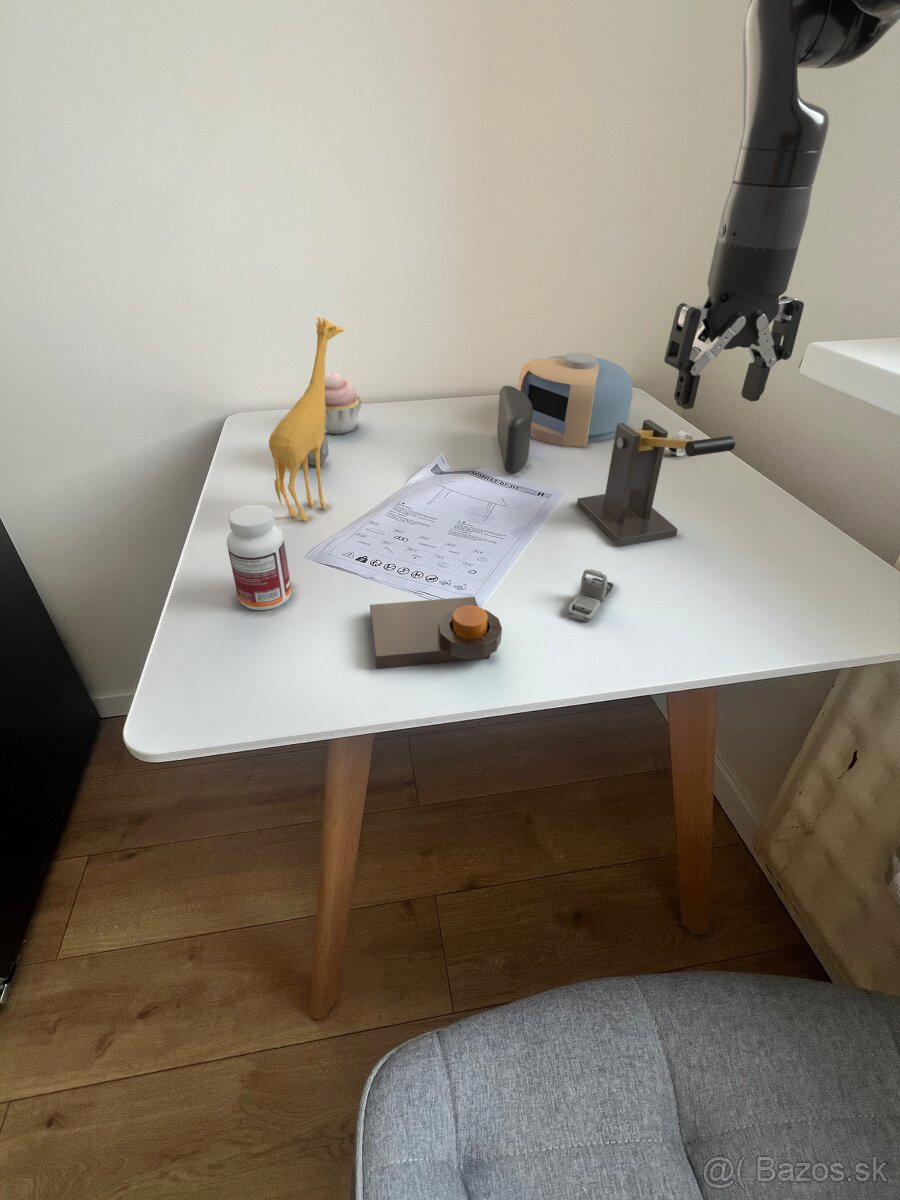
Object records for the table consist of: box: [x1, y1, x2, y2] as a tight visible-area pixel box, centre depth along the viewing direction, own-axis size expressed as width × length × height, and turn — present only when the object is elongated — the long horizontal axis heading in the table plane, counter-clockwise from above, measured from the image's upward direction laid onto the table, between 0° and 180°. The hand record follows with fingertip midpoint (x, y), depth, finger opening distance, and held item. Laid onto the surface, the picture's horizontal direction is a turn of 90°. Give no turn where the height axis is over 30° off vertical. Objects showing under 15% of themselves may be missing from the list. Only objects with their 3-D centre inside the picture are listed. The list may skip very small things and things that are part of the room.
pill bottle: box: [226, 504, 292, 611], centre depth 79 cm, size 6×6×11 cm
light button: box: [453, 605, 488, 639], centre depth 72 cm, size 4×4×2 cm
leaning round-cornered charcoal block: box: [496, 385, 533, 475], centre depth 112 cm, size 16×5×9 cm, turn 1°
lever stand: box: [576, 419, 679, 547], centre depth 94 cm, size 12×9×14 cm
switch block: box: [369, 596, 503, 670], centre depth 75 cm, size 13×11×4 cm
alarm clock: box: [517, 351, 633, 448], centre depth 123 cm, size 19×20×12 cm
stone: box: [307, 428, 329, 467], centre depth 109 cm, size 9×7×10 cm
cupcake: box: [325, 370, 365, 435], centre depth 120 cm, size 9×9×10 cm
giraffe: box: [268, 316, 345, 522], centre depth 93 cm, size 16×4×25 cm, turn 152°
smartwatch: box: [668, 430, 694, 457], centre depth 116 cm, size 4×2×4 cm, turn 116°
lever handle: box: [635, 429, 736, 457], centre depth 85 cm, size 16×6×2 cm, turn 20°
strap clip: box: [567, 568, 614, 622], centre depth 81 cm, size 8×3×4 cm, turn 150°
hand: (717, 402), depth 76 cm, fingers open, 8 cm apart
